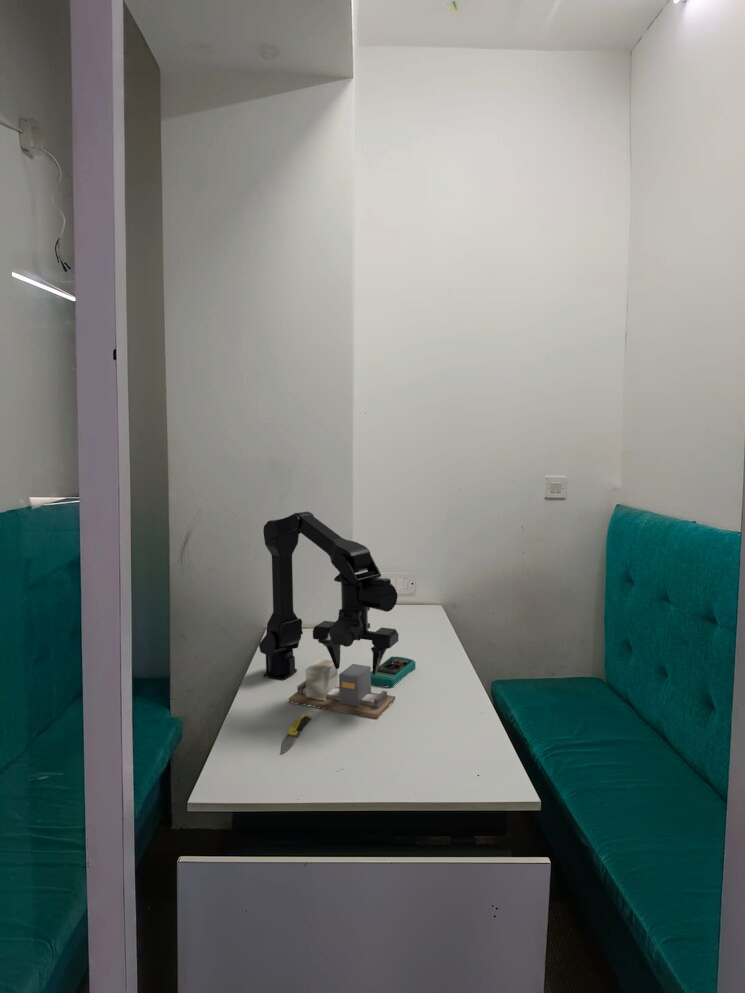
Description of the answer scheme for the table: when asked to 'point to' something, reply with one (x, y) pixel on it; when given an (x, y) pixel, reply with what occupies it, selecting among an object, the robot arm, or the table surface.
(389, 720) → the table surface
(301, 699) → the din panel
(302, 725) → the utility knife
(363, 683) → the block
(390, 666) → the digital multimeter
